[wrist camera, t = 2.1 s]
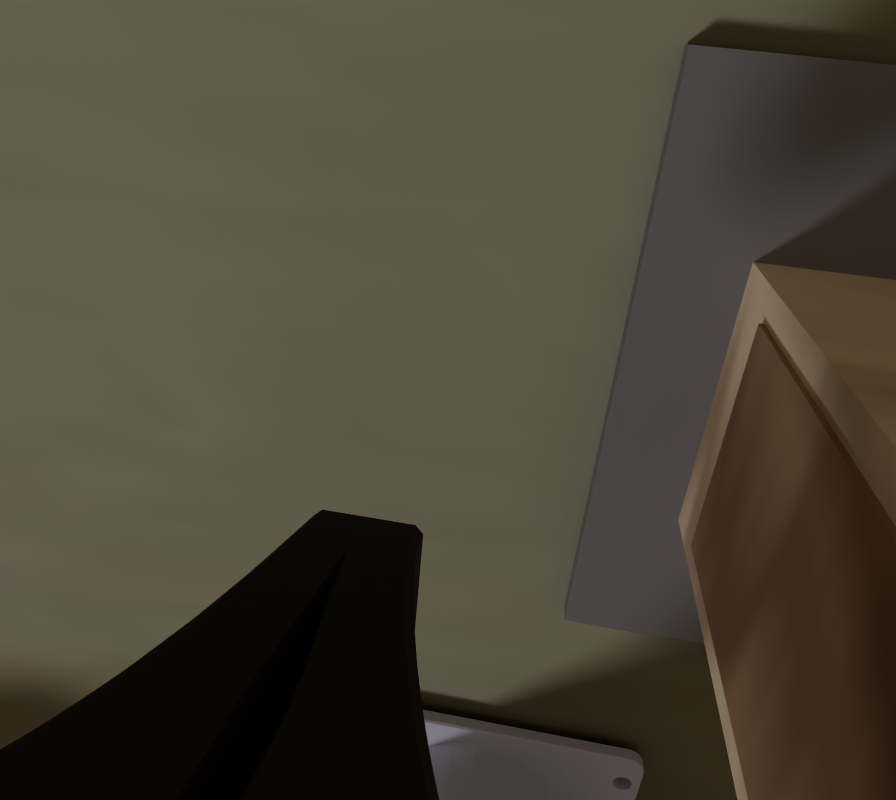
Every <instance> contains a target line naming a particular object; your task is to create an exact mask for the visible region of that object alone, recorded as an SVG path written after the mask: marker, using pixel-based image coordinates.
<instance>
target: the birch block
mask: <svg viewBox="0 0 896 800" xmlns="http://www.w3.org/2000/svg"><path fill="white" fill-rule="evenodd" d="M678 521H679V526H680V531H681V535H682V540H683V545H684V550H685V554H686V559H687V564H688V568H689V573H690V578H691V583H692V587H693V592H694V597H695V601H696V606H697V611H698V616H699V620H700V625H701V630H702V635H703V639H704V644H705V649H706V653H707V658H708V663H709V668H710V672H711V677H712V682H713V687H714V691H715V696H716V701H717V705H718V710H719V715H720V720H721V724H722V729H723V734H724V738H725V743H726V748H727V753H728V757H729V762H730V767H731V772H732V776H733V781H734V786H735V790H736V795H737V800H896V280H891V279H883V278H875V277H867V276H859V275H851V274H843V273H835V272H827V271H819V270H811V269H803V268H796V267H788V266H780V265H772V264H764V263H756V262H753V264H752V267H751V271H750V274H749V278H748V281H747V284H746V288H745V291H744V295H743V298H742V302H741V305H740V309H739V312H738V316H737V319H736V322H735V326H734V329H733V333H732V336H731V340H730V343H729V347H728V350H727V354H726V357H725V360H724V364H723V367H722V371H721V374H720V378H719V381H718V385H717V388H716V392H715V395H714V399H713V402H712V405H711V409H710V412H709V416H708V419H707V423H706V426H705V430H704V433H703V437H702V440H701V443H700V447H699V450H698V454H697V457H696V461H695V464H694V468H693V471H692V475H691V478H690V481H689V485H688V488H687V492H686V495H685V499H684V502H683V506H682V509H681V513H680V516H679V519H678Z"/></svg>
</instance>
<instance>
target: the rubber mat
mask: <svg viewBox="0 0 896 800" xmlns="http://www.w3.org/2000/svg"><path fill="white" fill-rule="evenodd" d="M753 262H756V263H764V264H772V265H780V266H788V267H796V268H803V269H811V270H819V271H827V272H835V273H843V274H851V275H859V276H867V277H875V278H883V279H891V280H896V65H892V64H882V63H872V62H862V61H852V60H842V59H832V58H822V57H812V56H801V55H791V54H781V53H771V52H761V51H751V50H741V49H731V48H721V47H711V46H700V45H690V44H685V48H684V53H683V58H682V62H681V67H680V72H679V76H678V81H677V86H676V90H675V95H674V99H673V104H672V109H671V113H670V118H669V123H668V127H667V132H666V137H665V141H664V146H663V151H662V155H661V160H660V165H659V169H658V174H657V179H656V183H655V188H654V193H653V197H652V202H651V207H650V211H649V216H648V221H647V225H646V230H645V235H644V239H643V244H642V249H641V253H640V258H639V263H638V267H637V272H636V277H635V281H634V286H633V291H632V295H631V300H630V305H629V309H628V314H627V319H626V323H625V328H624V333H623V337H622V342H621V347H620V351H619V356H618V361H617V365H616V370H615V375H614V379H613V384H612V389H611V393H610V398H609V402H608V407H607V412H606V416H605V421H604V426H603V430H602V435H601V440H600V444H599V449H598V454H597V458H596V463H595V468H594V472H593V477H592V482H591V486H590V491H589V496H588V500H587V505H586V510H585V514H584V519H583V524H582V528H581V533H580V538H579V542H578V547H577V552H576V556H575V561H574V566H573V570H572V575H571V580H570V584H569V589H568V594H567V598H566V603H565V620H568V621H574V622H580V623H585V624H591V625H596V626H602V627H608V628H613V629H619V630H625V631H630V632H636V633H642V634H647V635H653V636H659V637H664V638H670V639H676V640H681V641H687V642H693V643H698V644H704V639H703V635H702V630H701V625H700V620H699V616H698V611H697V606H696V601H695V597H694V592H693V587H692V583H691V578H690V573H689V568H688V564H687V559H686V554H685V550H684V545H683V540H682V535H681V531H680V526H679V521H678V519H679V516H680V513H681V509H682V506H683V502H684V499H685V495H686V492H687V488H688V485H689V481H690V478H691V475H692V471H693V468H694V464H695V461H696V457H697V454H698V450H699V447H700V443H701V440H702V437H703V433H704V430H705V426H706V423H707V419H708V416H709V412H710V409H711V405H712V402H713V399H714V395H715V392H716V388H717V385H718V381H719V378H720V374H721V371H722V367H723V364H724V360H725V357H726V354H727V350H728V347H729V343H730V340H731V336H732V333H733V329H734V326H735V322H736V319H737V316H738V312H739V309H740V305H741V302H742V298H743V295H744V291H745V288H746V284H747V281H748V278H749V274H750V271H751V267H752V264H753ZM704 645H705V644H704Z"/></svg>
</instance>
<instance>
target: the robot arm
mask: <svg viewBox="0 0 896 800" xmlns="http://www.w3.org/2000/svg"><path fill="white" fill-rule="evenodd" d="M422 541H423V534H422V532H421V531H420V530H419V529H418V528H417V527H416V525H411V524H405V523H399V522H393V521H387V520H381V519H375V518H369V517H363V516H357V515H351V514H345V513H339V512H333V511H327V510H321V511H320V512H318V513H317V514H315V515H314V516H313V517H312V518H310V519H309V520H308V521H307V522H306V523H305V524H304V525H303V526H302V527H300V528H299V529H298V530H297V531H296V532H295V533H294V534H293V535H292V536H290V537H289V538H288V539H287V540H286V541H285V542H284V543H283V544H282V545H280V546H279V547H278V548H277V549H276V550H275V551H274V552H273V553H271V554H270V555H269V556H268V557H267V558H266V559H265V560H263V561H262V562H261V563H260V564H259V565H258V566H257V567H255V568H254V569H253V570H252V571H251V572H250V573H248V574H247V575H246V576H245V577H244V578H242V579H241V580H240V581H239V582H238V583H236V584H235V585H234V586H233V587H232V588H230V589H229V590H228V591H227V592H226V593H224V594H223V595H222V596H221V597H219V598H218V599H217V600H216V601H215V602H213V603H212V604H211V605H210V606H209V607H207V608H206V609H205V610H204V611H202V612H201V613H200V614H199V615H197V616H196V617H195V618H194V619H192V620H191V621H190V622H189V623H187V624H186V625H184V626H183V627H182V628H180V629H179V630H178V631H176V632H175V633H174V634H172V635H171V636H170V637H168V638H167V639H166V640H164V641H163V642H162V643H160V644H159V645H158V646H156V647H155V648H154V649H152V650H151V651H150V652H148V653H147V654H146V655H144V656H143V657H142V658H140V659H139V660H138V661H136V662H135V663H134V664H132V665H131V666H129V667H128V668H127V669H125V670H124V671H122V672H121V673H119V674H118V675H117V676H115V677H114V678H112V679H111V680H109V681H108V682H106V683H105V684H104V685H102V686H101V687H99V688H98V689H96V690H95V691H93V692H92V693H90V694H89V695H87V696H86V697H84V698H83V699H81V700H80V701H78V702H77V703H75V704H74V705H72V706H70V707H69V708H67V709H66V710H64V711H63V712H61V713H59V714H58V715H56V716H55V717H53V718H52V719H50V720H49V721H47V722H45V723H44V724H42V725H41V726H39V727H38V728H36V729H34V730H33V731H31V732H29V733H28V734H26V735H24V736H23V737H21V738H19V739H18V740H16V741H14V742H12V743H11V744H9V745H7V746H6V747H4V748H2V749H1V750H0V800H635V799H636V796H637V793H638V790H639V787H640V784H641V781H642V778H643V775H644V767H643V759H642V758H641V756H640V755H639V754H638V753H636V752H635V751H632V750H629V749H625V748H620V747H615V746H610V745H605V744H599V743H594V742H589V741H584V740H579V739H573V738H568V737H563V736H558V735H553V734H547V733H542V732H537V731H532V730H527V729H521V728H516V727H511V726H506V725H501V724H496V723H490V722H485V721H480V720H475V719H470V718H464V717H459V716H454V715H449V714H444V713H438V712H433V711H428V710H423V707H422V700H421V693H420V686H419V677H418V668H417V657H416V643H415V621H416V610H417V598H418V587H419V575H420V564H421V552H422Z"/></svg>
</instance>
